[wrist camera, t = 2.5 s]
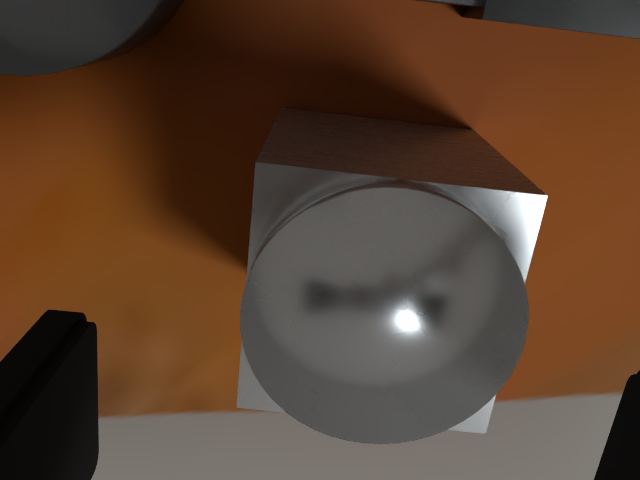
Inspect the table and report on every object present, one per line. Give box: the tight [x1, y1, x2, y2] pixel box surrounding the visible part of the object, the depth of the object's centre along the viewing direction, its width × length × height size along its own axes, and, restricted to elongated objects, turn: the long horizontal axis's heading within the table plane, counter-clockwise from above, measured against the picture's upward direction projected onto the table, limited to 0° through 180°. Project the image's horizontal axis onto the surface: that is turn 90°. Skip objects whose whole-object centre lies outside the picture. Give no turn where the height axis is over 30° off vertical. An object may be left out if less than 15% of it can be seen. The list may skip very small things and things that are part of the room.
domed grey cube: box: [237, 107, 547, 444], centre depth 16 cm, size 6×6×8 cm
